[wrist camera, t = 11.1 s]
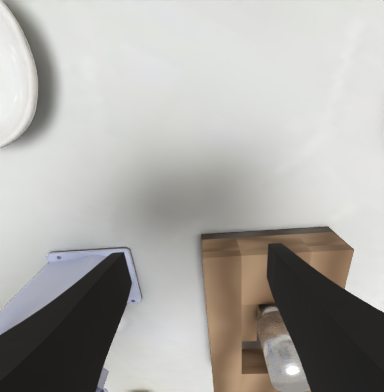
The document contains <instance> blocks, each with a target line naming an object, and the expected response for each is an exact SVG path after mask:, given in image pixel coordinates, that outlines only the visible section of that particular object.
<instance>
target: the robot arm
mask: <svg viewBox="0 0 384 392" xmlns="http://www.w3.org/2000/svg"><path fill="white" fill-rule="evenodd" d="M46 258H47V260H48V264H47V265H46V266H45V267H44V268H43V269H42V270H41V271H40V272H39V273H38V274H37V275H36V276H35V277H34V278H33V279H32V280H31V281H30V282H29V283H28V284H27V285H26V286H25V287H24V288H23V289H22V290H21V291H20V292H19V293H18V294H17V295H16V296H15V297H14V298H13V299H12V300H11V301H10V302H9V303H8V304H7V305H6V306H5V307H4V308H3V310H2V311H1V313H0V392H108V390H107V389H105V388H103V386H104V384H105V381H106V378H107V375H108V370H106V369H105V368H104V367H103V365H104V362H105V359H106V357H107V354H108V351H109V348H110V346H111V343H112V341H113V338H114V336H115V333H116V331H117V328H118V325H119V323H120V320H121V318H122V315H123V313H124V310H125V307H126V305H127V304H138V303H141V300H142V297H141V293H140V289H139V285H138V281H137V277H136V273H135V269H134V265H133V261H132V257H131V253H130V250H129V249H127V248H120V249H103V250H86V251H69V252H52V253H49V254H48V255H47V256H46ZM266 277H267V280H268V283H269V287H270V290H271V293H272V296H273V299H274V301H275V303H276V306H277V308H278V310H279V312H280V315H281V317H282V319H283V322H284V324H285V326H286V328H287V331H288V333H289V335H290V337H291V340H292V342H293V344H294V346H295V349H296V351H297V354H298V356H299V359H300V361H301V364H302V367H303V370H304V373H305V376H306V379H307V382H308V384H309V387H310V390H311V392H384V313H383V312H382V311H380V310H378V309H376V308H374V307H373V306H371V305H369V304H368V303H366V302H364V301H363V300H361V299H359V298H358V297H356V296H354V295H353V294H351V293H349V292H348V291H346V290H345V289H343V288H342V287H340V286H339V285H337V284H336V283H334V282H333V281H331V280H330V279H328V278H327V277H326V276H324V275H323V274H321V273H320V272H319V271H317V270H316V269H314V268H313V267H312V266H310V265H309V264H308V263H306V262H305V261H304V260H303V259H301V258H300V257H299V256H297V255H296V254H295V253H294V252H292V251H291V250H290V249H289V248H287V247H286V246H285V245H283V244H282V243H271V244H268V258H267V276H266Z"/></svg>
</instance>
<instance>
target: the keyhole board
mask: <svg viewBox="0 0 384 392" xmlns="http://www.w3.org/2000/svg"><path fill="white" fill-rule="evenodd" d="M201 241H202V265H203V276H204V287H205V298H206V309H207V320H208V331H209V342H210V353H211V363H212V374H213V385H214V392H281V391H278V390H276V389H275V388H274V387H273V386H272V384H271V380H270V376H269V372H268V369H267V365H266V361H265V357H264V354H263V350H262V346H261V342H260V339H259V335H258V331H257V327H256V323H257V320H258V319H259V318H260V317H261V316H262V315H259V314H258V304H276V303H275V301H274V299H273V296H272V293H271V290H270V287H269V283H268V280H267V277H266V276H267V258H268V244H271V243H282V244H283V245H285V246H286V247H287V248H289V249H290V250H291V251H292V252H294V253H295V254H296V255H297V256H299V257H300V258H301V259H303V260H304V261H305V262H306V263H308V264H309V265H310V266H312V267H313V268H314V269H316V270H317V271H319V272H320V273H321V274H323V275H324V276H326V277H327V278H328V279H330V280H331V281H333V282H334V283H336V284H337V285H339V286H340V287H342V288H343V289H344V288H345V284H346V280H347V276H348V272H349V268H350V264H351V260H352V256H353V252H354V249H353V248H352V247H351V246H349V245H348V244H347V243H346V242H345V241H344V240H343V239H342V238H340V237H339V236H338V235H337V234H336V233H335V232H334V231H332V230H331V229H330V228H329V227H314V228H298V229H281V230H265V231H249V232H233V233H217V234H201ZM306 392H311V390H309V391H306Z"/></svg>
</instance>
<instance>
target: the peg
mask: <svg viewBox="0 0 384 392" xmlns="http://www.w3.org/2000/svg"><path fill="white" fill-rule="evenodd" d="M258 314H259V315H262V316H261V317H260V318H259V319H258V320H257V323H256V327H257V331H258V335H259V339H260V342H261V346H262V350H263V354H264V357H265V361H266V365H267V369H268V372H269V376H270V380H271V384H272V386H273V387H274V388H275V389H276V390H278V391H281V392H306V391H309V390H310V387H309V384H308V382H307V379H306V376H305V373H304V370H303V367H302V364H301V361H300V359H299V356H298V354H297V351H296V349H295V346H294V344H293V342H292V340H291V337H290V335H289V333H288V331H287V328H286V326H285V324H284V322H283V319H282V317H281V315H280V312H279V310H278V308H277V306H276V304H258Z"/></svg>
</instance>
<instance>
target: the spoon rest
mask: <svg viewBox="0 0 384 392" xmlns="http://www.w3.org/2000/svg"><path fill="white" fill-rule="evenodd" d="M37 99H38V76H37V70H36V65H35V61H34V58H33V55H32V52H31V49H30V46H29V44H28V41H27V39H26V37H25V35H24V33H23V31H22V29H21V26H20V25H19V23H18V22H17V20H16V18H15V17H14V15H13V14H12V12H11V11H10V9H9V8H8V7H7V6H6V4H5V3H4V2H3V1H2V0H0V148H2V147H4V146H6V145H8V144H10V143H12V142H14V141H15V140H16V139H17V138H19V137H20V136H21V135H22V134H23V133H24V132H25V131H26V129H27V128H28V127H29V125H30V123H31V122H32V120H33V117H34V115H35V111H36V106H37Z"/></svg>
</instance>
